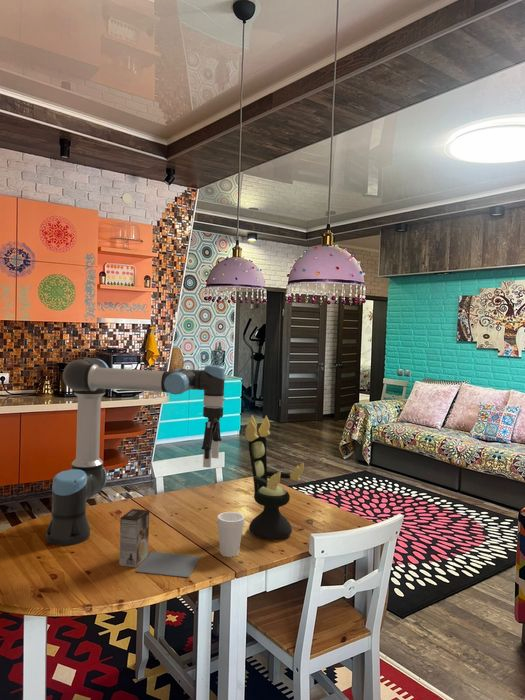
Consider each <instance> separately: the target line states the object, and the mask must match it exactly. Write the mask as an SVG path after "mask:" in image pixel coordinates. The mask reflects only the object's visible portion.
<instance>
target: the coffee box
mask: <svg viewBox="0 0 525 700" xmlns="http://www.w3.org/2000/svg"><path fill="white" fill-rule="evenodd" d="M149 529H150V510H148V509H140V508H139V509H138V508H131V509H130V510H129V511H128V512H126V513H125V514H124V515H123V516H120V526H119V562H118V563H119V566H122V567H128V568H129V567H130V568H137V569H138V568H139V567H140V565H141V564H142V563H143V562H144V560H145V559H146V558H147V557H148V555H149V540H150V539H149V538H150V537H149V533H150V530H149Z"/></svg>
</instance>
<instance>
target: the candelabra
mask: <svg viewBox="0 0 525 700" xmlns="http://www.w3.org/2000/svg"><path fill="white" fill-rule="evenodd" d="M257 427H258V424H257V422H256V420H255V417H254V415H253V414H252V415H251V416H250V420H248V423H247V425H246V428H245V435H244V436H245V438H246V439H247V441H248V444H247V445H248V451H249V459H250V465H251V470H252V472H251V473H252V479H253V487H254V488H253V489H254V494H253V495H254V496H253V498H254V502H256V504H259V506H263V510H262V511H261V512H260V513H259V514H258V515H256V516H255V517H254V518H253V519H252V520H251V522H250V523H249V526H248V531H249V532H250V533H251V534H252V536H254V537H255V538H259V539H262V540H267V541H276V540H283V539H286V538H287V537H289V536H290V535H291V534H292V532H293V530H292V529H293V528H292V525H291V524H290V522H289V520H288V519H287V518H286V516H284V515H283V514H282V512H280V507H284V506H286V505H287V504H288V503H290V500H291V496H290V495H291V494H289V492H288V491H287V490H286V489H285V488H284V487H282V486H281V485H279V484H280V483H281V479H286V480H287V479H289V480H293V481H300V482H301V478H300V476H301V475H303V474H304V469H305V467H304V466H305V462H301V463H300V465H298V464H297V465H296V466H295V467H294V468H293V469H292V471H291V472H286V471H284V472H283V471H281V470H279V471H277V470H268V466H267V465H268V463H267V460H268V459H267V453H268V452H267V449H268V448H267V444H268V443H267V437H268V436H269V435H271V432H270V429H271V424H270V420H269V418H268V415H265V417H264V419H263V420H262V422H261V424H260V427H259V428H258V429H257ZM258 434H259V435H258ZM268 477H270V478H269V479H268Z"/></svg>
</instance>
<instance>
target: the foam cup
mask: <svg viewBox="0 0 525 700" xmlns="http://www.w3.org/2000/svg"><path fill="white" fill-rule="evenodd" d="M245 519H246V518H245V516H244V515H243V514H242V513H240V512H235V511H226V512H221V513H220V514H218V515H217V519H216V520H217V521H216V523H217V529H218V540H219V552H220V555H221V554H222V555H221V556H223V557H225V556H227V557H226V558H233V557H232V556H234V557H237V556H238V555H239V553H240V546H241V542H242V541H241V540H242V535H243V530H244V529H243V528H244V525H245ZM236 555H237V556H236Z"/></svg>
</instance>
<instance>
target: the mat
mask: <svg viewBox="0 0 525 700" xmlns="http://www.w3.org/2000/svg"><path fill="white" fill-rule="evenodd" d="M200 559H201V556H200V555H199V556H197V555H191V554H190V555H188V554H179V553H171V552H170V553H169V552H159V551H150V553H148V557H147V558H146V559H145V560H144V561H143V562H142V563H141V564H140V565H139V566H138V567H137V569H136V571H135V573H140V574H147V573H148V574H149V575H158V576H167V577H169V576H170V577H175V576H177V578H185V577H189V578H190V577H191V576H190V575H192V574H191V573H193V572H194V570H195V568H196V567H197V565H198V563H199V562H200ZM195 566H196V567H195ZM178 576H179V577H178Z"/></svg>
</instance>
